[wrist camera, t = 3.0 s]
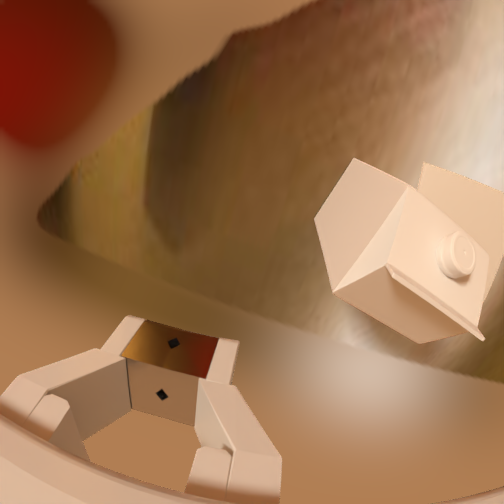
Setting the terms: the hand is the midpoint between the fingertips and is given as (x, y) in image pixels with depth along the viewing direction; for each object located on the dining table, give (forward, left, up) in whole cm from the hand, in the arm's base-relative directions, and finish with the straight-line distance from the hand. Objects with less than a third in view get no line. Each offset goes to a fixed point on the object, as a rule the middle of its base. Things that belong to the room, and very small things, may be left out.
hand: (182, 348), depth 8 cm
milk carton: (-10, 0, -24) cm, 26 cm away
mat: (-22, 0, -24) cm, 33 cm away
